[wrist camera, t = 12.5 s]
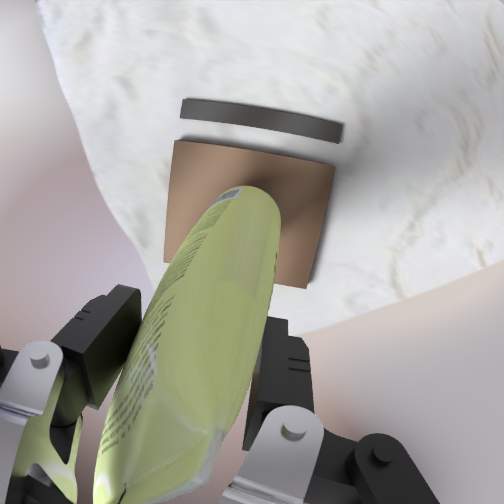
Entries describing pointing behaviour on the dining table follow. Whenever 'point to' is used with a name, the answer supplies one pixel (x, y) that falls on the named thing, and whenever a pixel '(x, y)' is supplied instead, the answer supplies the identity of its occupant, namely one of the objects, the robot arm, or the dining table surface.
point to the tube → (192, 355)
